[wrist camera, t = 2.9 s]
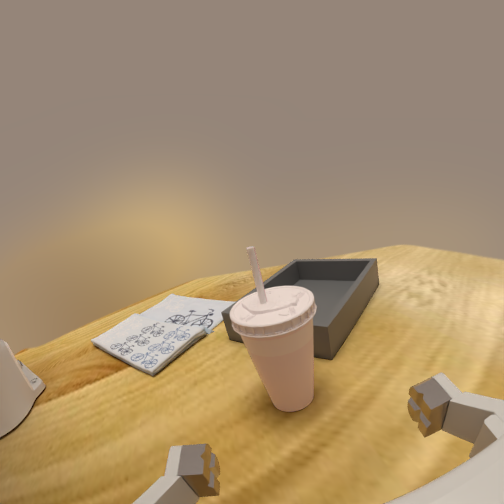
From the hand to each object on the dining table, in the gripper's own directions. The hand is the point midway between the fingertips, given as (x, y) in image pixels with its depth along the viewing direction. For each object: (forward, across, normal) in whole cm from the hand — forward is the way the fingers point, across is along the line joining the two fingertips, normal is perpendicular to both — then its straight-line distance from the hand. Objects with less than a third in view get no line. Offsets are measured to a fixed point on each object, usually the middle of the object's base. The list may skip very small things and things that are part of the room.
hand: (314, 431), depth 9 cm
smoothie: (+12, 0, +10) cm, 16 cm away
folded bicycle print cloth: (+33, +17, +10) cm, 38 cm away
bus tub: (+28, -5, +9) cm, 30 cm away
